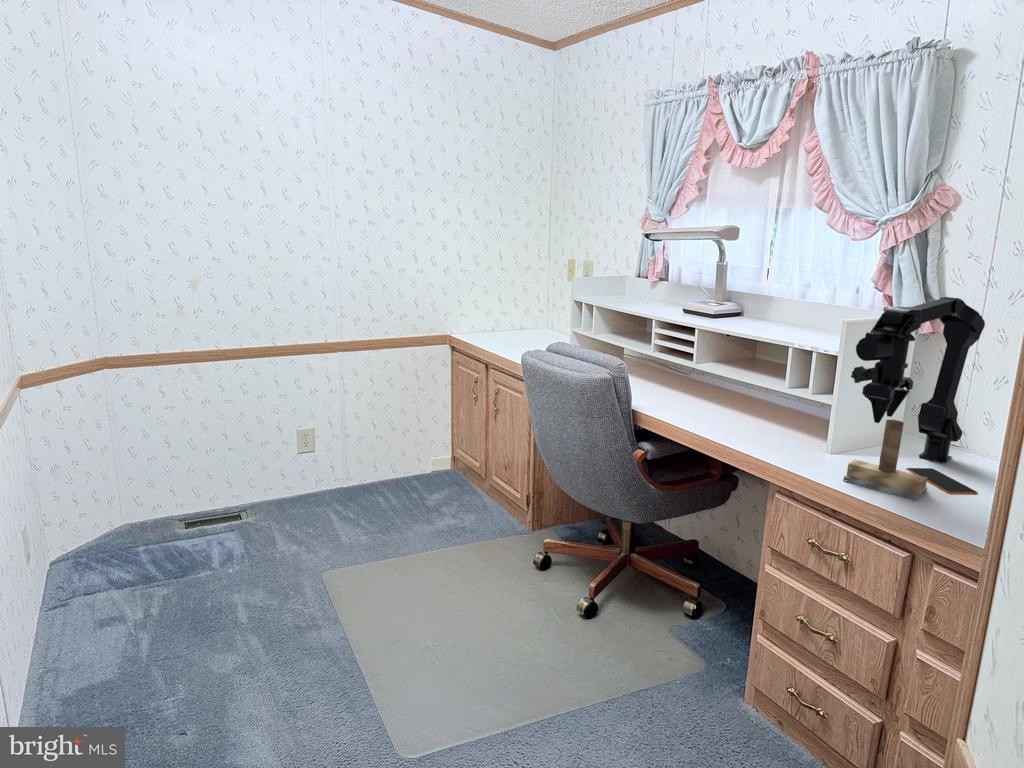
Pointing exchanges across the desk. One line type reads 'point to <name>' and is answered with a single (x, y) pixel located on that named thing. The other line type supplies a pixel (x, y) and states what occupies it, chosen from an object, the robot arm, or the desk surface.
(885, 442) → the walnut dowel
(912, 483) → the oak ridge
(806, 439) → the desk surface
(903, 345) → the robot arm
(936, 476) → the smartphone
